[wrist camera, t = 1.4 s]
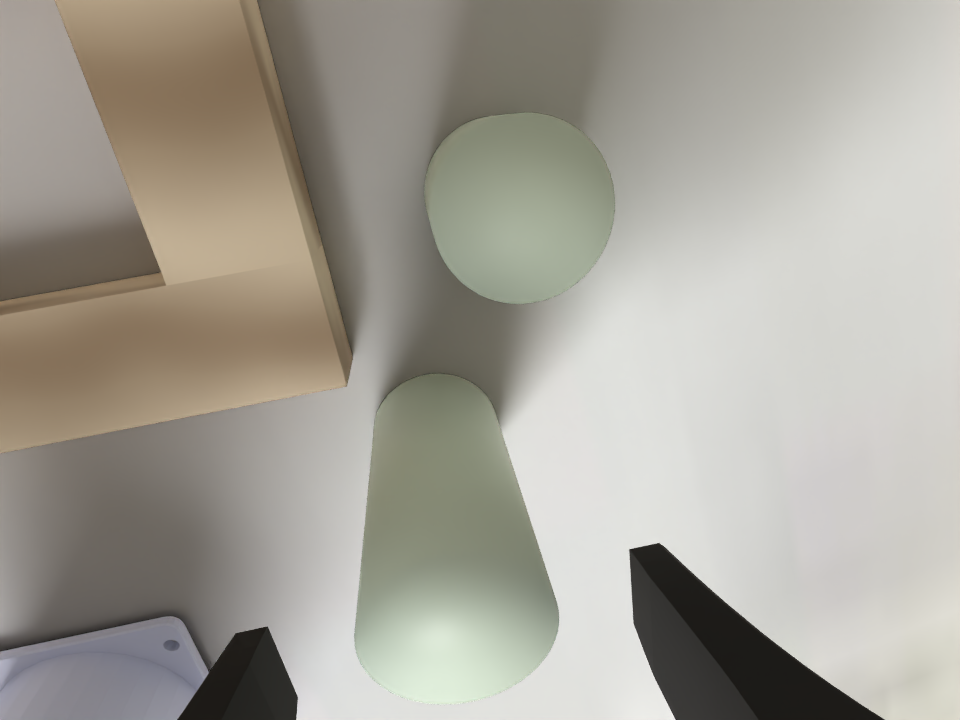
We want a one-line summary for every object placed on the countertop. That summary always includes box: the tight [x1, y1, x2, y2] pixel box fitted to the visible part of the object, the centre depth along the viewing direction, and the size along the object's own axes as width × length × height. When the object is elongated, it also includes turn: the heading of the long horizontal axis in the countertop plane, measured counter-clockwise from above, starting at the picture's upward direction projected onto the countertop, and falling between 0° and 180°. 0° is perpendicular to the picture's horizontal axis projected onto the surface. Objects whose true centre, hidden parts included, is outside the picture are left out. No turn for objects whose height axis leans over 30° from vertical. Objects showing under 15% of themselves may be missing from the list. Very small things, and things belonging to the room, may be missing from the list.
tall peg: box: [354, 374, 559, 704], centre depth 15 cm, size 4×4×8 cm
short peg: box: [424, 112, 615, 304], centre depth 14 cm, size 4×4×4 cm
